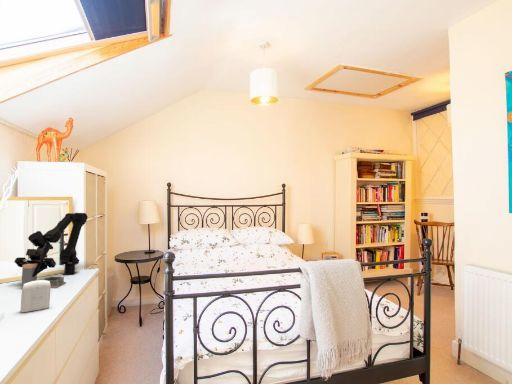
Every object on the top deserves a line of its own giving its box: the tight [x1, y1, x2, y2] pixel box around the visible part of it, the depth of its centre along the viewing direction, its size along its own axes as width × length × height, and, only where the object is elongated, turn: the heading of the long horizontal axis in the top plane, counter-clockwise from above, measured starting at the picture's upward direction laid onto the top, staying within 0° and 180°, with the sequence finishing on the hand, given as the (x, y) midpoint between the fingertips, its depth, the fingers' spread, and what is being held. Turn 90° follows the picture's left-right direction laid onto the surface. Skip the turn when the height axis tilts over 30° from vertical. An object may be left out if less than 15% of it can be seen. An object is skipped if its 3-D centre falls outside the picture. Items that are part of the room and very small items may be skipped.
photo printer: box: [19, 279, 52, 313], centre depth 132 cm, size 10×4×12 cm, turn 134°
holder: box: [43, 276, 67, 289], centre depth 167 cm, size 9×9×4 cm
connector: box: [21, 263, 38, 289], centre depth 161 cm, size 5×5×13 cm
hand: (27, 276), depth 160 cm, fingers closed on connector, 5 cm apart
